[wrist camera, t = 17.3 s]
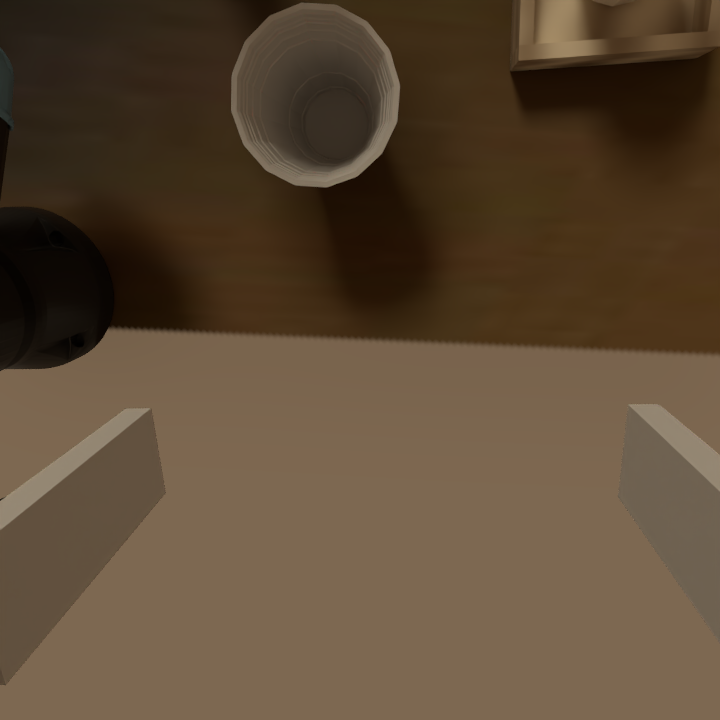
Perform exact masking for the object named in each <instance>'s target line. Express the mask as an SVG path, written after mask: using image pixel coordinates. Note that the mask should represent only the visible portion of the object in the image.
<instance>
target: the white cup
mask: <svg viewBox="0 0 720 720" xmlns="http://www.w3.org/2000/svg"><path fill="white" fill-rule="evenodd" d="M592 1H593V2H597V3H601V4H604V5H608V6H611V7H613V6H617V5H622V4H626V3H630V2H634V1H635V0H592Z"/></svg>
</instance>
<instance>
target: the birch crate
mask: <svg viewBox="0 0 720 720" xmlns="http://www.w3.org/2000/svg"><path fill="white" fill-rule="evenodd" d="M718 47H720V0H635V1H634V2H630V3H626V4H622V5H617V6H613V7H611V6H608V5H604V4H601V3H597V2H593V1H592V0H512V26H511V56H510V71H524V70H538V69H552V68H567V67H581V66H595V65H610V64H624V63H638V62H653V61H667V60H681V59H696V58H698V57H700V56H702V55H704V54H706V53H708V52H710V51H712V50H714V49H716V48H718Z"/></svg>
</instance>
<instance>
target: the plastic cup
mask: <svg viewBox="0 0 720 720" xmlns="http://www.w3.org/2000/svg"><path fill="white" fill-rule="evenodd" d="M399 92H400V84H399V80H398V77H397V73H396V70H395V67H394V63H393V60H392V56H391V53H390V50H389V49H388V47H387V46H386V45H385V43H384V42H383V41H382V40H381V38H380V37H379V36H378V35H377V33H376V32H375V31H374V30H373V28H372V27H371V26H370V24H369V23H368V22H367V21H365V20H364V19H362V18H360V17H358V16H356V15H354V14H352V13H351V12H349V11H347V10H345V9H343V8H341V7H339V6H338V5H332V4H315V3H300V4H297V5H295V6H292V7H290V8H287V9H285V10H282V11H280V12H277V13H275V14H272V15H270V16H269V17H268V18H267V19H266V20H265V21H264V22H263V23H262V24H261V25H260V26H259V27H258V28H257V29H256V30H255V31H254V32H253V33H252V34H251V35H250V37H249V38H248V39H247V40H246V41H245V42H244V45H243V47H242V50H241V53H240V55H239V58H238V60H237V63H236V65H235V68H234V70H233V73H232V95H231V112H232V114H233V117H234V120H235V123H236V125H237V128H238V131H239V134H240V136H241V139H242V142H243V145H244V146H245V147H246V148H247V149H248V150H249V152H250V153H251V154H252V155H253V156H254V157H255V159H256V160H257V161H258V162H259V163H260V164H261V165H262V167H263V168H264V169H265V170H266V171H268V172H270V173H272V174H274V175H276V176H278V177H280V178H282V179H284V180H286V181H287V182H289V183H291V184H293V185H298V186H313V187H330V186H332V185H335V184H338V183H341V182H343V181H346V180H349V179H352V178H355V177H357V176H358V175H360V174H361V173H362V172H363V171H364V170H365V169H366V168H367V167H368V166H369V165H370V164H371V163H373V162H374V161H375V160H376V159H377V158H378V157H379V156H380V155H381V154H382V153H383V151H384V149H385V146H386V144H387V142H388V140H389V138H390V136H391V134H392V132H393V130H394V127H395V125H396V123H397V118H398V105H399Z"/></svg>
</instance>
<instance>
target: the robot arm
mask: <svg viewBox="0 0 720 720" xmlns="http://www.w3.org/2000/svg"><path fill="white" fill-rule="evenodd" d="M13 87H14V72H13V68H12V65H11V63H10V61H9V59H8V57H7V56H6V54H5V53H4V51H3V50H2V49H1V48H0V199H1V191H2V183H3V176H4V168H5V160H6V153H7V145H8V137H9V130H10V131H13V129H14V121H13V119H12V117H11V112H12V99H13ZM112 312H113V288H112V283H111V278H110V275H109V272H108V269H107V267H106V264H105V262H104V260H103V258H102V256H101V255H100V253H99V251H98V250H97V248H96V247H95V246H94V244H93V243H92V242H91V240H90V239H89V238H88V237H87V236H86V235H85V234H84V233H83V232H82V231H81V230H80V229H79V228H77V227H76V226H75V225H74V224H72V223H71V222H69V221H68V220H66V219H65V218H63V217H61V216H59V215H57V214H55V213H52V212H50V211H47V210H44V209H39V208H34V207H2V208H0V371H1V370H3V369H45V368H52V367H56V366H60V365H63V364H66V363H68V362H71V361H72V360H75V359H77V358H79V357H81V356H83V355H85V354H86V353H88V352H89V351H90V350H92V349H93V348H94V347H95V346H96V345H97V344H98V343H99V342H100V341H101V339H102V338H103V336H104V335H105V333H106V331H107V329H108V327H109V324H110V321H111V317H112ZM164 494H165V486H164V481H163V475H162V469H161V463H160V457H159V451H158V445H157V439H156V434H155V428H154V422H153V416H152V410H151V408H126V409H125V410H123V411H122V412H120V413H119V414H118V415H116V416H115V417H114V418H112V419H111V420H109V421H108V422H107V423H105V424H104V425H103V426H101V427H100V428H99V429H97V430H96V431H95V432H93V433H92V434H90V435H89V436H88V437H86V438H85V439H84V440H82V441H81V442H80V443H78V444H77V445H76V446H74V447H73V448H71V449H70V450H69V451H67V452H66V453H65V454H63V455H62V456H61V457H59V458H58V459H57V460H55V461H54V462H52V463H51V464H50V465H48V466H47V467H46V468H44V469H43V470H42V471H40V472H39V473H38V474H36V475H35V476H34V477H33V478H31V479H29V480H28V481H27V482H25V483H24V484H23V485H21V486H20V487H19V488H17V489H16V490H15V491H13V492H12V493H10V494H9V495H8V496H6V497H4V498H2V499H0V685H6V684H7V683H8V682H9V681H10V679H11V678H12V677H13V676H14V674H15V673H16V672H17V671H18V670H19V668H20V667H21V666H22V665H23V664H24V663H25V661H26V660H27V659H28V658H29V656H30V655H31V654H32V653H33V652H34V650H35V649H36V648H37V647H38V646H39V644H40V643H41V642H42V641H43V639H44V638H45V637H46V636H47V635H48V634H49V632H50V631H51V630H52V629H53V628H54V626H55V625H56V624H57V623H58V621H59V620H60V619H61V618H62V617H63V616H64V614H65V613H66V612H67V611H68V610H69V608H70V607H71V606H72V605H73V604H74V602H75V601H76V600H77V599H78V597H79V596H80V595H81V594H82V593H83V592H84V590H85V589H86V588H87V587H88V586H89V584H90V583H91V582H92V581H93V579H94V578H95V577H96V576H97V575H98V573H99V572H100V571H101V570H102V569H103V568H104V566H105V565H106V564H107V563H108V561H109V560H110V559H111V558H112V557H113V556H114V554H115V553H116V552H117V551H118V550H119V548H120V547H121V546H122V545H123V543H124V542H125V541H126V540H127V539H128V537H129V536H130V535H131V534H132V533H133V531H134V530H135V529H136V528H137V527H138V525H139V524H140V523H141V522H142V521H143V519H144V518H145V517H146V516H147V515H148V513H149V512H150V511H151V510H152V509H153V507H154V506H155V505H156V504H157V503H158V501H159V500H160V499H161V498H162V496H163V495H164ZM618 497H619V499H620V500H621V502H622V503H623V505H624V506H625V508H626V509H627V511H628V512H629V513H630V515H631V516H632V518H633V519H634V521H635V522H636V524H637V525H638V526H639V528H640V529H641V531H642V532H643V534H644V535H645V536H646V538H647V539H648V541H649V542H650V544H651V545H652V547H653V548H654V549H655V551H656V552H657V554H658V555H659V557H660V558H661V560H662V561H663V562H664V564H665V565H666V567H667V568H668V570H669V571H670V572H671V574H672V575H673V577H674V578H675V580H676V581H677V583H678V584H679V585H680V587H681V588H682V590H683V591H684V593H685V594H686V596H687V597H688V598H689V600H690V601H691V603H692V604H693V606H694V607H695V608H696V610H697V611H698V613H699V614H700V616H701V617H702V619H703V620H704V621H705V623H706V624H707V626H708V627H709V629H710V630H711V631H712V633H713V634H714V636H715V637H716V639H717V640H718V642H719V643H720V455H719V454H718V453H716V451H714V450H713V449H712V448H711V447H710V446H708V445H707V444H706V443H705V442H704V441H702V440H701V439H700V438H699V437H697V436H696V435H695V434H694V433H693V432H692V431H690V430H689V429H688V428H687V427H685V426H684V425H683V424H682V423H681V422H680V421H678V420H677V419H676V418H675V417H673V416H672V415H671V414H670V413H669V412H667V411H666V410H665V409H664V408H663V407H661V406H660V405H659V404H638V405H637V404H636V405H635V404H630V405H628V411H627V419H626V428H625V438H624V447H623V456H622V465H621V475H620V484H619V493H618Z"/></svg>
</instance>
